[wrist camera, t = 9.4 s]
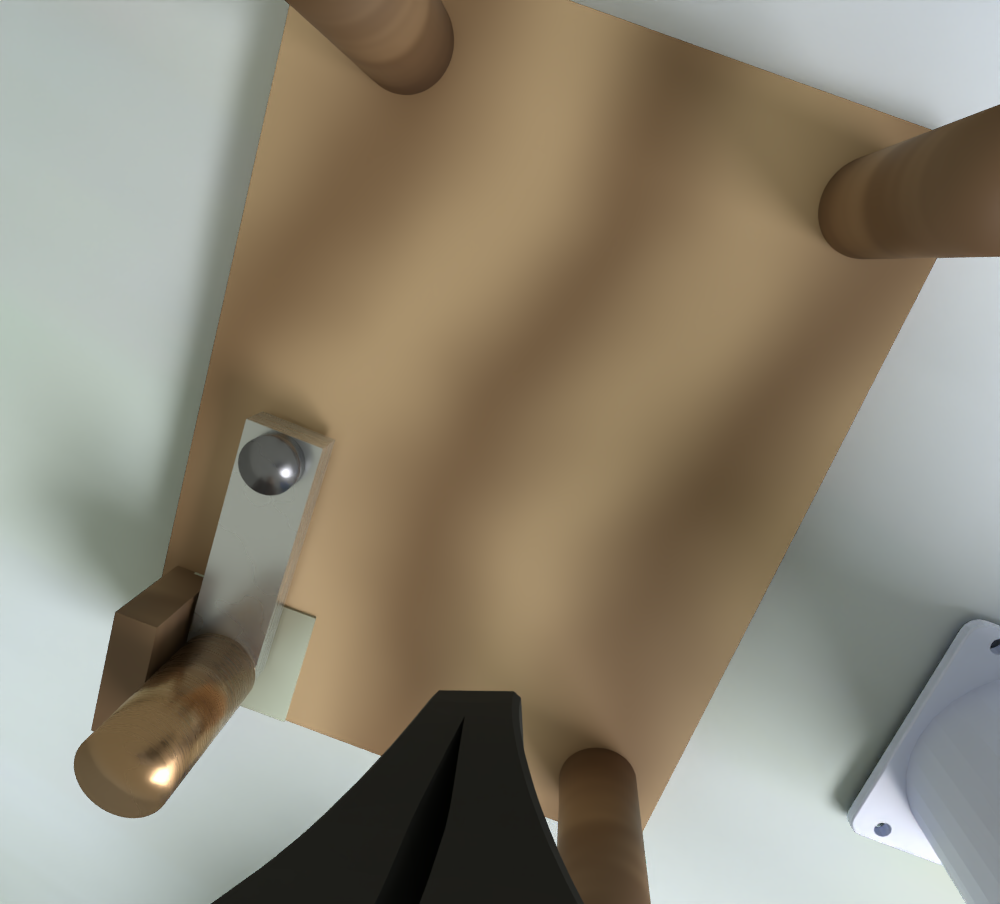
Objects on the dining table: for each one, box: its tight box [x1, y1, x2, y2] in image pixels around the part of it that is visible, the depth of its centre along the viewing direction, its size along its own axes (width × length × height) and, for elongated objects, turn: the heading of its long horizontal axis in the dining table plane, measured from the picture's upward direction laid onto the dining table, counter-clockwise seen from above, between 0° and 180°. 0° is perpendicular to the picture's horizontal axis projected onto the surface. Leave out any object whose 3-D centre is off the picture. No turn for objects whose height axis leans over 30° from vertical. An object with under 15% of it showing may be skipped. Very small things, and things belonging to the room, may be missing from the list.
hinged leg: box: [74, 411, 335, 818], centre depth 18 cm, size 9×2×6 cm, turn 160°
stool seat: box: [91, 0, 1000, 904], centre depth 17 cm, size 17×22×7 cm
